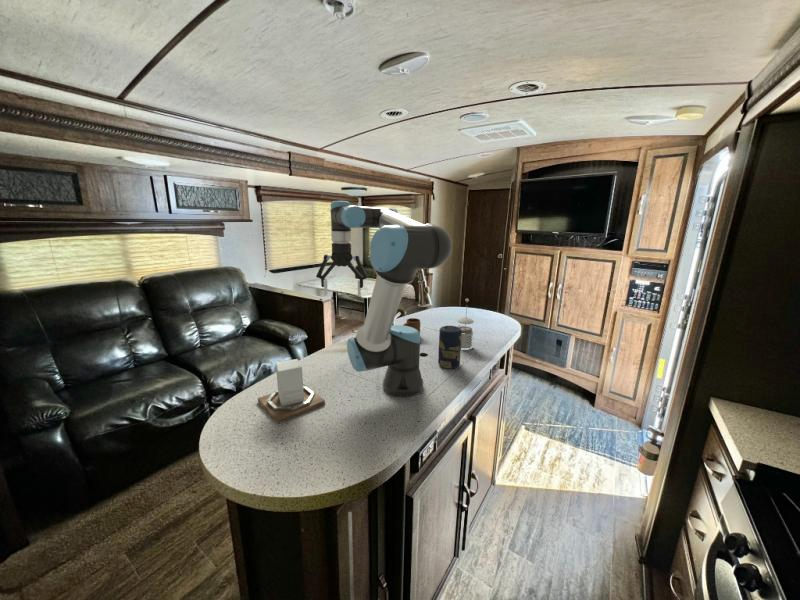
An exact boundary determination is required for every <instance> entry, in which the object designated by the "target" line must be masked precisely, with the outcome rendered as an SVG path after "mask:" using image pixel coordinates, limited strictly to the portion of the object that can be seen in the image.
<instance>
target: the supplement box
mask: <svg viewBox="0 0 800 600" xmlns="http://www.w3.org/2000/svg"><path fill="white" fill-rule="evenodd" d="M275 370H276V380H277V384H276V385H277V390H278V396H279V399H280V403H281V406H282V407H283V406H287V405H291V404H295V403H299V402H303V401H304V393H303V384H304V378H303V367H302V365H301V363H300V361H299V359H298V358H296V359H295V358H294V359H289V360H283V361H278V362H275Z"/></svg>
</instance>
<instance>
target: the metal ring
mask: <svg viewBox="0 0 800 600" xmlns="http://www.w3.org/2000/svg"><path fill="white" fill-rule="evenodd" d="M306 386H307V385H305V386H303V390H304V391H306V392H307V393H308V394H309V395H310V396H309V398H308V400H307V401H306V402H303V403H301V404H298V405H296V406H293V407H280V406H276V405H275V404H274V403H273V402H272V400H273V399H274V397H275V396H276V395H278V389H277V390H274V391H273V392H272V393H270V394H271V396H270V397H269V398H268V400H267V404H268V405H269V406H270V407H271V408H272V409H273V410H274V411H292V412H293V411H295V410H298V409H300V408H302V407H305V406H307V405H310V403H311V401H312V399H313V397H314V392H315V391H314V390H312V389H311V388H310V387H308V386H307V387H308V388H307V387H306ZM310 389H311V390H312V391H311V390H310Z"/></svg>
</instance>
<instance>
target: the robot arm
mask: <svg viewBox="0 0 800 600" xmlns="http://www.w3.org/2000/svg"><path fill="white" fill-rule="evenodd" d="M330 202H331V201H330ZM329 211H330V224H331V225H330V226H331V229H330V230H331V231H330V234H331V242H332V243H331V255H330V254H324V255H323V261H322V263H321V265H320V267H319V269H318V272H317V273H316V275H315V277H316V278H317V279H320V284H321V285H320V286H321V288H323V295H324V296H328V295H329V294H328V293H329V292H328V289H329V288H328V278H326V277H327V276H328V275H329V274H330V272H332V270H334V268H335V267H336V266H337V267H348V268H349V269H350V270H351V271H352V272H353V275H355V276H356V277H357V278H358V280H357V297H358V298H359V297H361V296H362V294H361V293H362V292H361V290H362V289H363V288H364V280H367V278H368V274H367V271H366V270H365V268H364V266H363V264H362V262H361V259H360V258H361V256H360V255H359V254H357V255H352V244H351V242H352V229H357V228H358V229H359V228H361V229H363V228H364V229H366V228H368V229H371V228H372V229H377V230H376V231H375V232H374V233H373V235H372V238H371V241H370V246H369V251H370V253H369V261H370V263H371V267H372V268H373V270H374V272H375V274H376V275H377V276H376V280H375V283H374V287H373V290H372V294H371V298H370V301H369V305H368V308H367V312H366V315H365V319H364V322H363V326H361V327H360V328H359V329H358V330H357V332H356V335H355V337H351V338H348V340H346V341H347V342H346V349H347V355H348V358H349V362H350V363H351V366H352V368H353V370H355V371H356V372H360V373H361V372H367V371H371V370H375V369H381V368H385V367H387V368H386V371H385V374H384V377H383V379H382V389H383V390H384V391H385V392H386V393H387V394H389V395H391V396H394V397H395V396H396V397H401V398H402V397H404V398H405V397H412V396H416V395H418V394H420V393H421V392H422V391H423V390H424V389H423V388H424V379H423V378H422V373H421V369H420V357H421V355H420V354H421V353H420V352H421V332H420V333H419V331H418V330H416V329H415V328H412V327H409V326H403V325H404V324H403V325H402V324H394V320H395V317H396V315H397V314H398V313H397V312H398V310H399V306H400V303H401V300H402V298H403V295H404V292H405V290H406V286H407V285H408V284H411V283H412V282H414V280H415V278H416V276H417V275H416V274H417V273H418V270H426V269H427V270H429V269H435V268H438V267H440V266H442V265H443V264H445V262H447V261H448V259H449V258H450V256H451V254H452V252H453V240H452V236H451V235H450V233H449V232H448V230H446V229H445V228H443V227H441V226H439V225H435V224H433V223H426V224H424V223H422V222H421V221H417V220H414V219H412V218H410V217H407V216H405V215H402V214H400V213H399V212H398V210H397V208H394V207H389V206H386V207H385V206H384V207H380V206H379V207H375V206H361V205H353V204H351V203H350V201H346V200H333V201H332V202H331V203H330V209H329ZM330 259H331V260H332V263H331V264H330V266H329V267H328V268H327V269H326V265H327V263H328V261H329V260H330ZM352 260H354V261H355V262H356V264H357V267H358V269H359V270H360V272H359V270H358V269H357V268H356V267H355V266H354V264H353V263H352ZM325 269H326V270H325ZM324 270H325V272H324ZM323 272H324V273H323Z"/></svg>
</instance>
